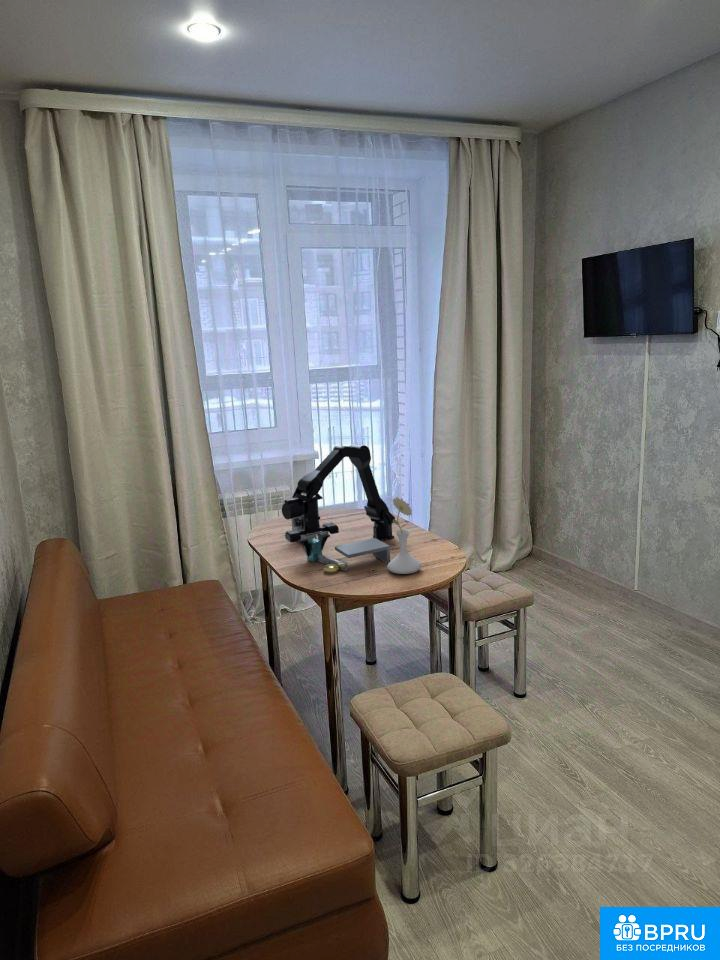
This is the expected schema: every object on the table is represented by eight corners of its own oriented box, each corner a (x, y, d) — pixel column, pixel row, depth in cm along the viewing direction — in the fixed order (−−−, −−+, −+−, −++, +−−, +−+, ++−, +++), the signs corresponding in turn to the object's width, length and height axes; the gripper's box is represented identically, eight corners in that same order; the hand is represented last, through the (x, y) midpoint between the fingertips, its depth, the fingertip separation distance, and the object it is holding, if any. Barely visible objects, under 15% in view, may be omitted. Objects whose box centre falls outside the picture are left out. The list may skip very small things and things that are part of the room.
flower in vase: (426, 574, 218) (423, 500, 212) (394, 579, 215) (390, 505, 209) (412, 561, 230) (409, 492, 224) (381, 566, 227) (377, 496, 221)
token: (333, 568, 229) (332, 562, 228) (341, 571, 225) (341, 566, 224) (321, 572, 226) (320, 566, 225) (329, 575, 222) (329, 570, 221)
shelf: (375, 554, 240) (374, 538, 238) (390, 562, 230) (389, 545, 229) (335, 563, 233) (334, 546, 232) (349, 572, 223) (348, 554, 222)
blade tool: (316, 556, 240) (314, 538, 239) (351, 568, 224) (348, 549, 223) (307, 559, 238) (304, 541, 236) (342, 572, 222) (339, 552, 220)
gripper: (325, 504, 245) (328, 544, 248) (278, 512, 237) (281, 554, 240) (338, 510, 235) (340, 552, 239) (289, 519, 227) (292, 562, 231)
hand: (313, 554), depth 237 cm, fingers closed on blade tool, 4 cm apart
